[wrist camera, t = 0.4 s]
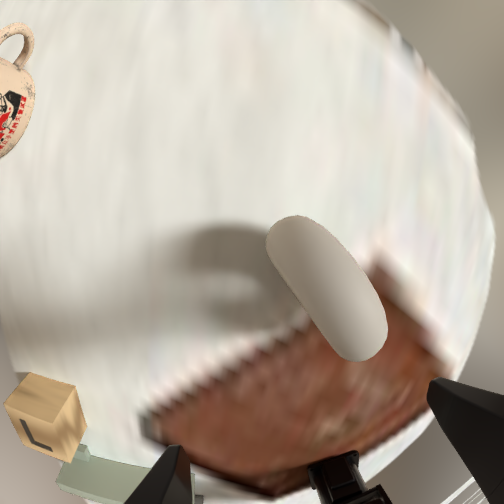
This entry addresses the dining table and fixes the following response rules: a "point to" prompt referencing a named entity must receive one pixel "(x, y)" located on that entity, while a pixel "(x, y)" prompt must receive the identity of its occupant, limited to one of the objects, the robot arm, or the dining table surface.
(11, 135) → the teacup with lid
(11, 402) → the marked cube
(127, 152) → the dining table surface
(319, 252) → the donut
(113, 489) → the sage screen
